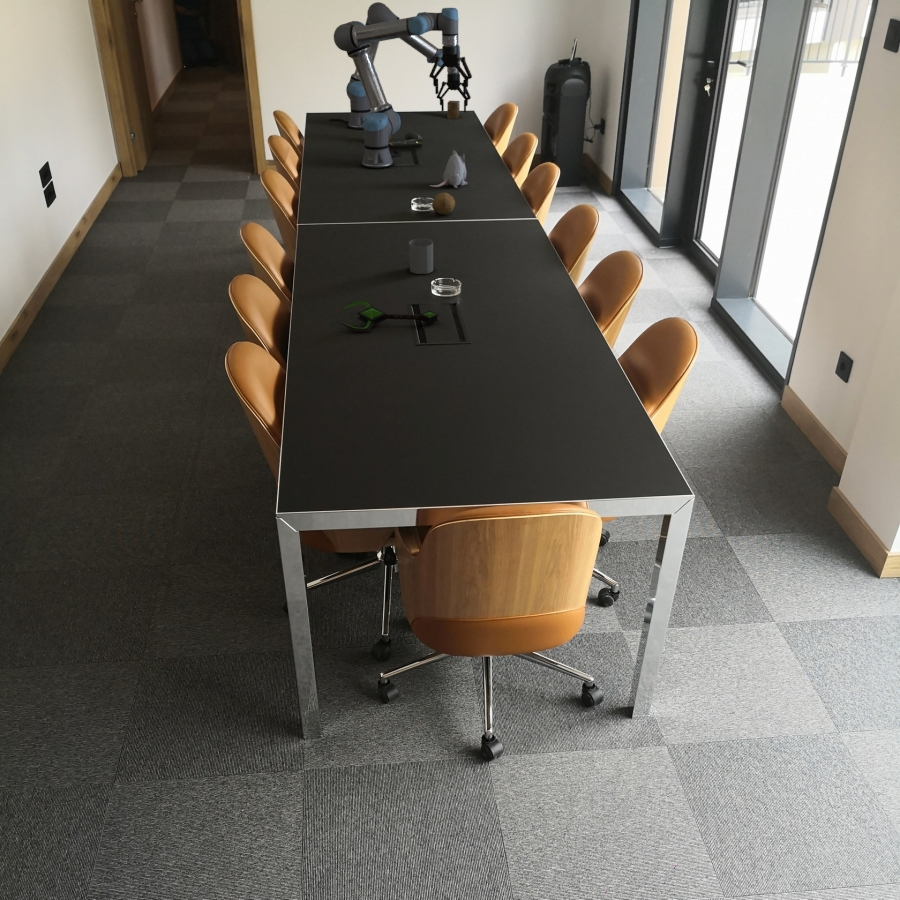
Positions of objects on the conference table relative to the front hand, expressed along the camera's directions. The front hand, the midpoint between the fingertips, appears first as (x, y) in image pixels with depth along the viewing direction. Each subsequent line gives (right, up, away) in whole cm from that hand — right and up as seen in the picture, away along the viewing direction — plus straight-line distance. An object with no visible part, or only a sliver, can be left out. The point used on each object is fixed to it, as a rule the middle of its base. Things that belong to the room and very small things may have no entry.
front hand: (450, 94), depth 413 cm
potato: (-3, -71, -50) cm, 86 cm away
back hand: (+2, +33, +106) cm, 111 cm away
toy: (-2, -51, -18) cm, 54 cm away
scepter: (-19, -131, -143) cm, 195 cm away
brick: (+2, +30, +107) cm, 112 cm away
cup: (-11, -106, -104) cm, 149 cm away
